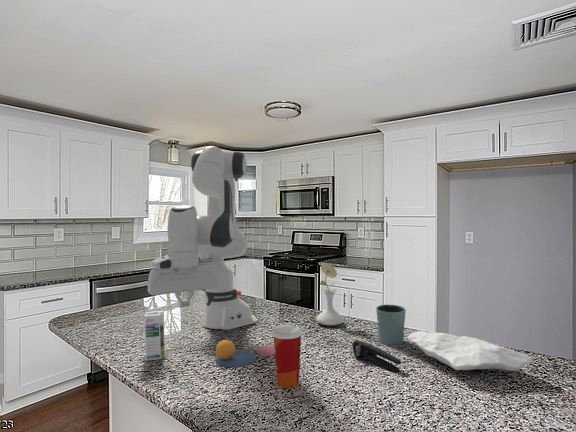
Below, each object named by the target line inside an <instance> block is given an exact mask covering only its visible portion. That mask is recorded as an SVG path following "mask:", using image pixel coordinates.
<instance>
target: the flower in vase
mask: <svg viewBox="0 0 576 432" xmlns="http://www.w3.org/2000/svg"><path fill="white" fill-rule="evenodd" d="M320 270H321V271H322V273H323V274H324V275H325V277H324V280H321V281H320V283H319V284H320V285H322V286H326V289H324V290H323V292H324V293H325V296H326V307H325V309H324V310H322V312H320V313H319V314H318V315H317V317H316V318H315V319H316V320H315V321H316V322H317V323H319V324H321V325H323V326H339V325H341V324H343V322H344V321H345V319H344V317H343V315H342V314H340V313H339V312H338V311H336V310H335V308H334V306H333V302H334V301H333V299H334V296H335V295H334V294H335V293H336V292H337V290H336V289H333V288H330V287H332V286H333V285H334V283H331V284H329V286H328V284H327V282H326V281H327V277H329V278H331V279H332V278H337V275H338V272H337V270H336V268H335V267H334V266H333V265H332V264H331V263H330V262H328V263H327V262H323V263H321V264H320Z"/></svg>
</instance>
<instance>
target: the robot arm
mask: <svg viewBox="0 0 576 432" xmlns="http://www.w3.org/2000/svg"><path fill="white" fill-rule="evenodd" d="M247 164H248V163H247V158H246V156H245V154H244V153H243V152H240V151H238V150H237V151H236V150H235V151H233V150H223V149H221V148H219V147H218V146H215V145H214V146H213V145H212V146H211V145H209V146H207V147H205V148H204V149H202V150H198V151H196V152H194V153H193V154H192V156H191V160H190V167H191V168H190V169H191V171H192V177H191V180H192V185H193V186H194V188H195V189H196V191H198V192H199V193H201V194H202V195H204V196H206V197H208V198H207V199H208V201H207V215H201V216H200V215H198V214H197V208H196V207H195V206H193V205H190V204H189V205H188V204H187V205H183V204H182V205H176V206H173V207H171V208H170V209H169V212H168V219H167V239H168V243H169V244H168V248H167V254H166V255H165V254H164V255H163V256H161V257H158V258H155V259H153V260H152V261H151V266H152V269H150V271H149V274H148V279H147V292H148V294H150V296H160V295H168V294H174V296H175V298H176V299H177V300H178V307H179V308H183V307H185V308H186V307H190V306H191V300H192V298H193V296H194V295H195V293H194V291H200V290H205V294H204V299H205V300H204V301H205V303H204V304H205V314H204V318H203V319H204V320H203V322H202V326H203V327H205V328H208V329H212V330H213V329H215V330H218V329H219V330H225V331H228V330H233V329H237V328H240V327H244V326H248V325H252V324H256V323H258V318H257V317H256V316H255V315H254V314H253V313H252V312H253V311H252V309H251V306H250V305H249V304H248V303H246V302H245V301H243V300H242V299H240V298H239V297H240V296H241V295H242V291H241V290H238V289H235V288H234V272H233V269H232V268H231V267H230V266H228V265H227V264H226V261H225V260H224V259H225V258H230V259H231V258H236V257H241V256H243V255H244V254H245V253H246V251H247V249H248V244H249V243H248V239H247V237H246V235H245V234H244V232H242V231H241V229H240V228H239V226H238V224H237V220H236V214H235V213H236V211H235V209H236V207H235V206H236V205H235V203H236V184H235V183H236V182H238V181H239V179H241V178H242V177H243V176H244V175H245V174H246V170H247ZM185 292H186V294H187V297H186V299H181V296H182V293H185ZM238 296H239V297H238Z"/></svg>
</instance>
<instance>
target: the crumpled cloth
mask: <svg viewBox="0 0 576 432" xmlns="http://www.w3.org/2000/svg"><path fill="white" fill-rule="evenodd" d="M406 339H407V340H409V341H410V343H411V344H412V343H413V344H414V345H416V346H417V347H418V348H419V349H420V350H421V351H423V353H424V354H425V355H426V356H428V357H431V358H433V359H436V360H437V361H439V362H441V363H443V364H445V365H447V366H448V367H450V368H452V369H453V370H455V371H471V370H491V369H492V370H493V369H497V370H503V371H512V372H513V371H518V370H520V369H522V368H524V367H525V366H527V365H529V364H531V363H533V358H532V357H530V356H528V355H527V354H524V353H522V352H519V351H516V350H512V349H509V348H506V347H502V346H500V345H497V344H493V343H491V342H488V341H487V340H483V339H480V338H476V337H471V336H466V335H464V336H457V335H454V334H450V333H444V332H429V331H421V330H418V331H416V332H412V333H410V334H408V335H407V336H406Z"/></svg>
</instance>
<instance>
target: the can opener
mask: <svg viewBox="0 0 576 432" xmlns="http://www.w3.org/2000/svg"><path fill="white" fill-rule="evenodd" d="M352 351H353V355H354V357H355V358H356V359H358V360H371V361H372V362H374V363H375V364H378V365H380V366H382V367H383V368H385V369H386V370H388V371H392V372H394V373H399V372H400V371H401V370H400V368H399V367H397V366H396V365H401V364H402V361H401V359H399V358H397V357H396V356H394V355H393V354H390V353H389V352H387V351H385V350H383V349H381V348H379V347H376V346H374V345H373V344H372V343H371V342H370V343H369V342H368V343H367V342H364V341H362V340H358V339H355V340H354V341H353V342H352ZM387 360H388V361H387ZM389 361H390V362H391V363H390V362H389ZM392 363H394V364H396V365H394V364H392Z"/></svg>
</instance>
